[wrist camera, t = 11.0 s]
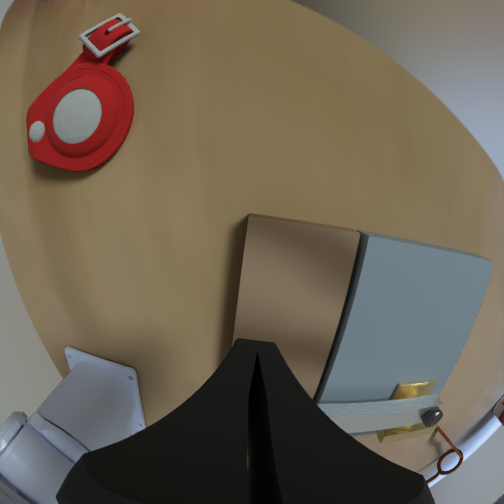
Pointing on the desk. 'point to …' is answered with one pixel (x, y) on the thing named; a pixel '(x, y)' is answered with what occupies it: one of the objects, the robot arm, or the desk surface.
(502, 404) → the pill bottle
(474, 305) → the door panel
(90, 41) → the tracker holder
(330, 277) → the jamb board
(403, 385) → the brass keeper
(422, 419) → the bar
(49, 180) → the desk surface
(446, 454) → the glasses
